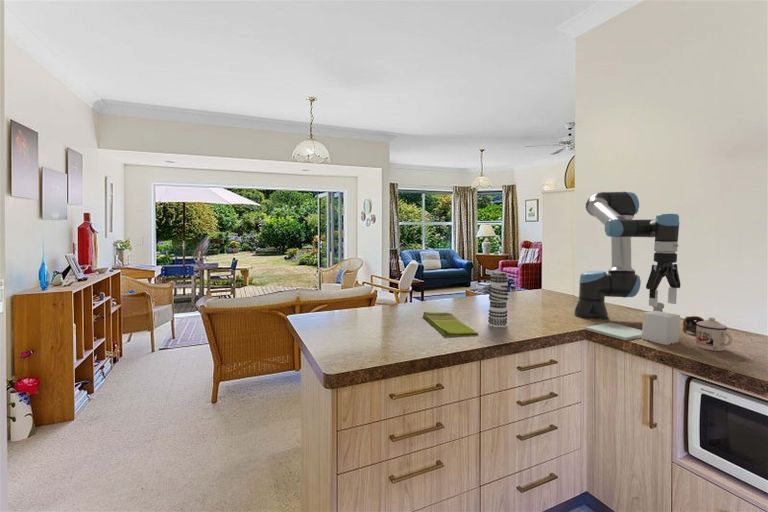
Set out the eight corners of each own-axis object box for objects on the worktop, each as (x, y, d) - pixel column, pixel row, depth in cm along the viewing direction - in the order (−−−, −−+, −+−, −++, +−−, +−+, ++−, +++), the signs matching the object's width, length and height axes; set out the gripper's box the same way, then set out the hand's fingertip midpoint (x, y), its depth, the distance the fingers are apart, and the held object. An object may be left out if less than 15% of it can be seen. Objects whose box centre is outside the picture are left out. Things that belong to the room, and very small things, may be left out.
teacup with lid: (688, 344, 150) (690, 315, 149) (707, 343, 152) (709, 314, 151) (720, 354, 138) (723, 323, 138) (740, 353, 140) (743, 322, 139)
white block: (641, 338, 158) (643, 312, 157) (654, 336, 162) (655, 310, 161) (665, 345, 150) (667, 317, 149) (678, 341, 154) (680, 315, 153)
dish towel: (451, 316, 196) (451, 310, 196) (479, 336, 161) (479, 329, 161) (422, 317, 194) (422, 311, 194) (444, 338, 159) (444, 330, 159)
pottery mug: (717, 337, 163) (712, 321, 161) (693, 345, 165) (689, 330, 163) (697, 323, 174) (692, 308, 172) (675, 331, 176) (670, 316, 174)
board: (584, 329, 171) (585, 327, 171) (610, 325, 179) (610, 322, 179) (625, 340, 155) (625, 337, 155) (651, 335, 163) (651, 332, 163)
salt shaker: (663, 330, 170) (665, 302, 169) (666, 334, 165) (668, 304, 164) (647, 329, 172) (649, 301, 171) (650, 332, 167) (651, 303, 166)
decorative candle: (506, 323, 182) (508, 271, 180) (509, 328, 173) (511, 273, 171) (486, 322, 183) (488, 270, 181) (488, 327, 174) (490, 273, 172)
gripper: (658, 253, 144) (654, 309, 145) (692, 252, 155) (689, 303, 156) (637, 252, 150) (634, 305, 152) (672, 251, 162) (669, 300, 163)
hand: (662, 304), depth 154 cm, fingers open, 13 cm apart
